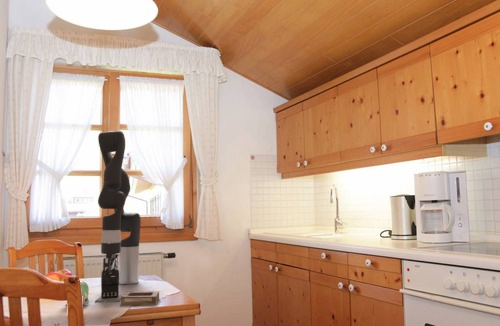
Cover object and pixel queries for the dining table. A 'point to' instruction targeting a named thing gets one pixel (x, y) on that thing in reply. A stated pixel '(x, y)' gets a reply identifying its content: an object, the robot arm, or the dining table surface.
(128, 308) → the dining table surface
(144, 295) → the frame
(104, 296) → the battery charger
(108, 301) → the mat
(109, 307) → the dining table surface
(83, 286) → the frog
